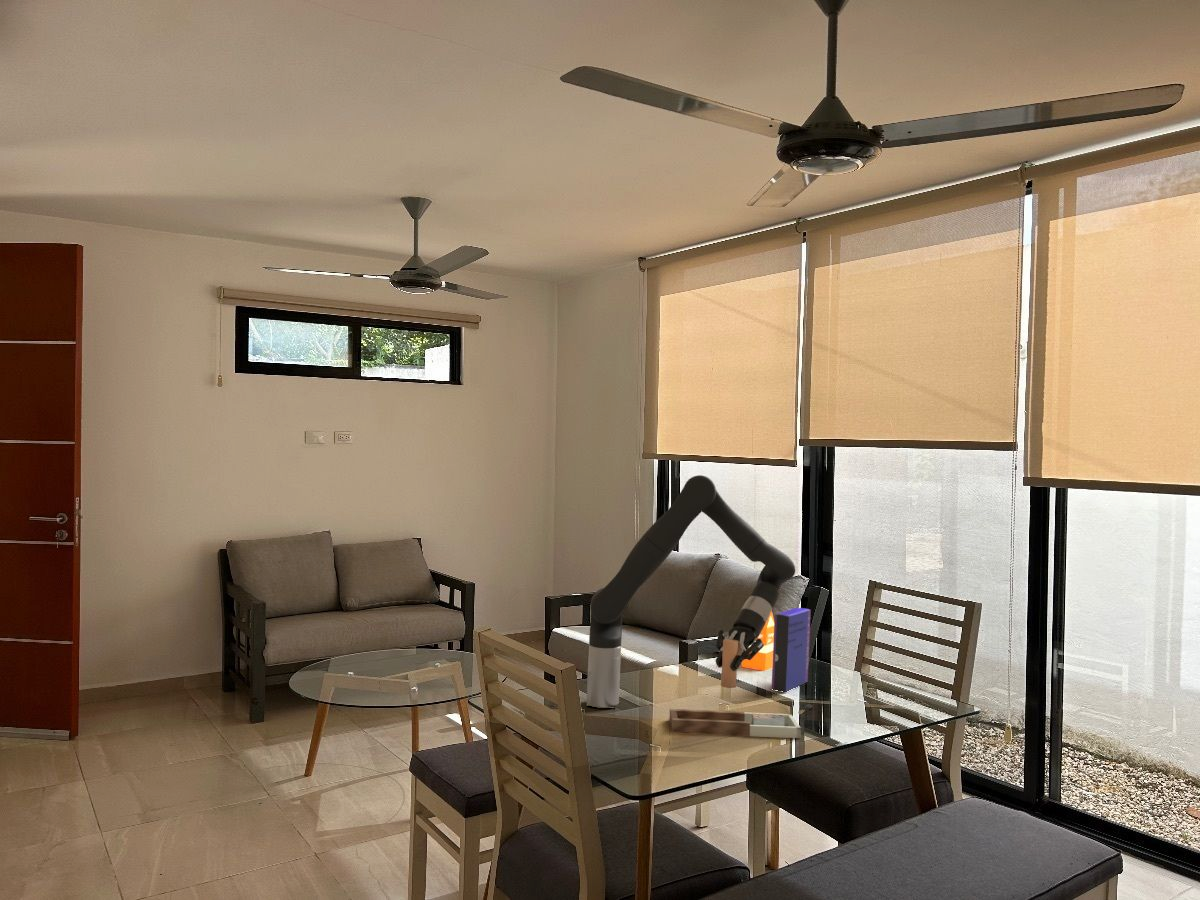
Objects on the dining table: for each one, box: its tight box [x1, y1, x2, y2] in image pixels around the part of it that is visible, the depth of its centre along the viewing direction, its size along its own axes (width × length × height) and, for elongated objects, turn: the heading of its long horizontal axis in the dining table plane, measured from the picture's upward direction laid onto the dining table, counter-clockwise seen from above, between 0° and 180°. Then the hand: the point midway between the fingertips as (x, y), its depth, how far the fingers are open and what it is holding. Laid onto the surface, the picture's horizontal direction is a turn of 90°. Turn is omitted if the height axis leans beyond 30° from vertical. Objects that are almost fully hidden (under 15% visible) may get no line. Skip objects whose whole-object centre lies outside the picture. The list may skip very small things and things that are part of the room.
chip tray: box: [743, 711, 802, 739], centre depth 238 cm, size 13×12×4 cm
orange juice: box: [741, 611, 775, 672], centre depth 313 cm, size 8×9×20 cm
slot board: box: [668, 708, 751, 737], centre depth 238 cm, size 20×12×4 cm, turn 90°
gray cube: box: [767, 713, 785, 726], centre depth 238 cm, size 4×4×4 cm
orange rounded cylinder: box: [720, 638, 739, 689], centre depth 238 cm, size 4×4×12 cm
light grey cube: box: [751, 712, 769, 725], centre depth 238 cm, size 4×4×4 cm
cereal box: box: [771, 607, 812, 693], centre depth 288 cm, size 17×5×24 cm, turn 145°
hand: (725, 667), depth 237 cm, fingers closed on orange rounded cylinder, 4 cm apart
